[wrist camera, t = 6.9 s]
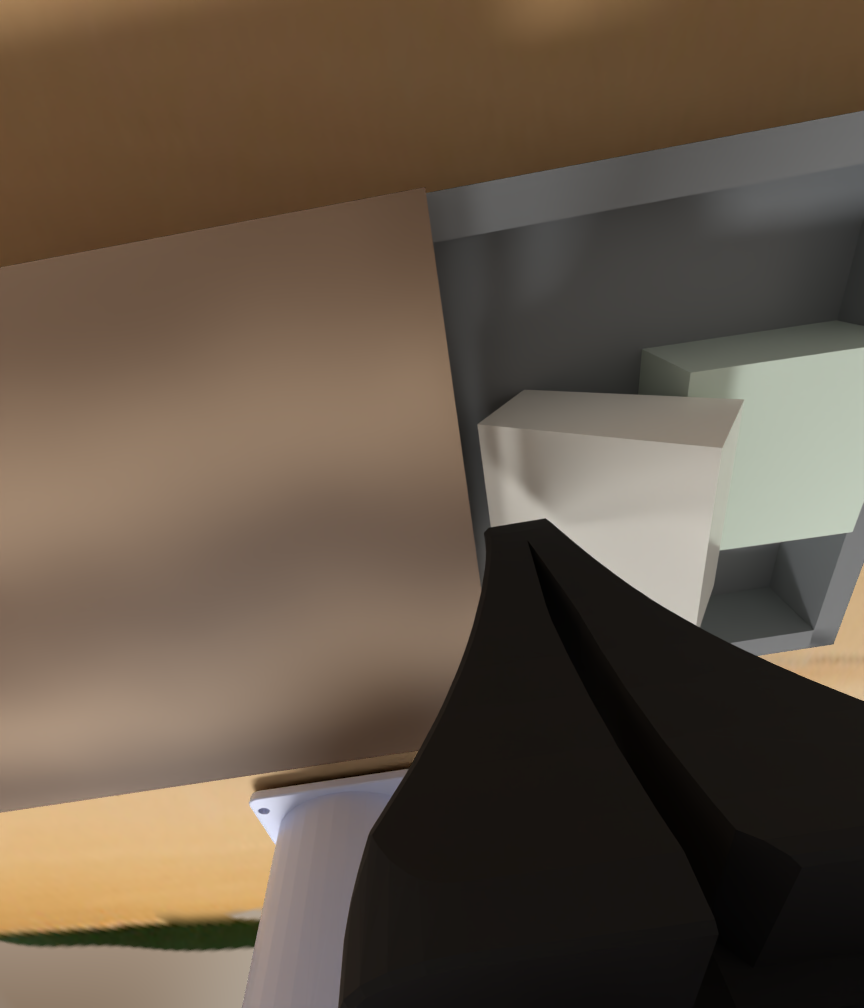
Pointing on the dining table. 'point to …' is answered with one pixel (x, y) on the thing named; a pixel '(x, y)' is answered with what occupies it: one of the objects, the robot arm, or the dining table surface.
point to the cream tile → (620, 482)
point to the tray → (662, 309)
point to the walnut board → (228, 504)
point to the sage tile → (780, 424)
